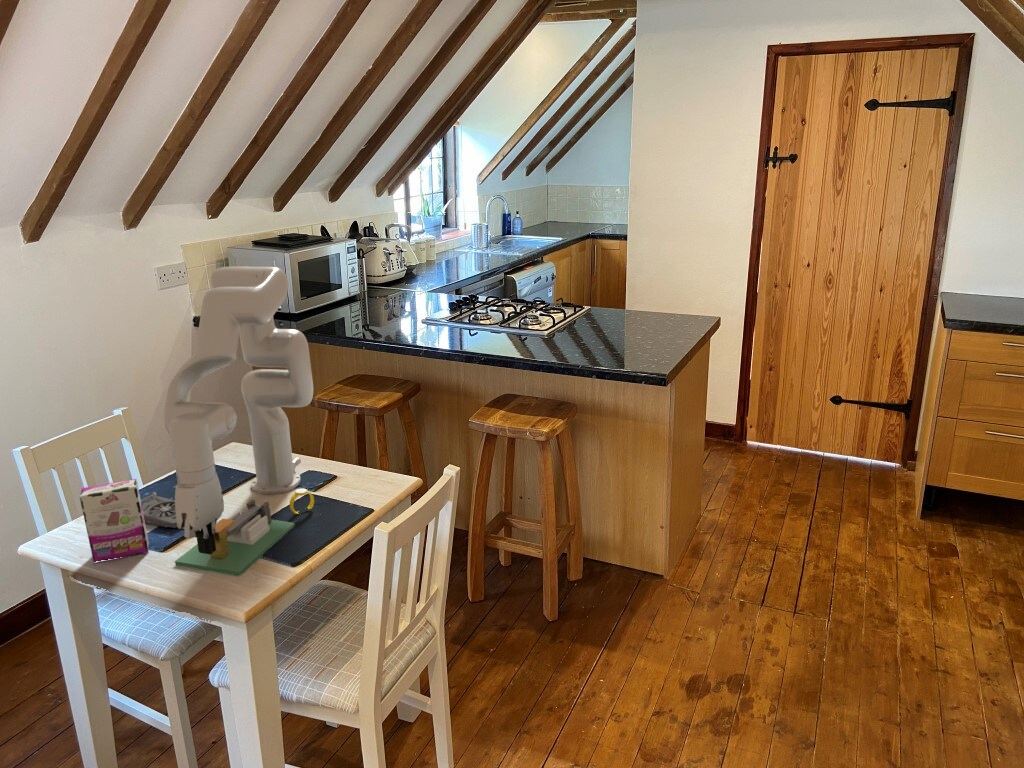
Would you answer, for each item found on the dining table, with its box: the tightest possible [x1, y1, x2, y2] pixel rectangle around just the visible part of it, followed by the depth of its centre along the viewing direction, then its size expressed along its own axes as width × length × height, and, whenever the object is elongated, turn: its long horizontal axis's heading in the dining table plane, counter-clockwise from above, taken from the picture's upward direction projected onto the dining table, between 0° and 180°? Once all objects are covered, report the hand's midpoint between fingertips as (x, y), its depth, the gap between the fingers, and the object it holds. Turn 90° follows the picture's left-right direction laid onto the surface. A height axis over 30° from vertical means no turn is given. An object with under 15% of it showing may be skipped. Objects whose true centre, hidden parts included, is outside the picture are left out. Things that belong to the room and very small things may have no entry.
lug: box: [210, 518, 235, 559], centre depth 170 cm, size 6×3×6 cm, turn 164°
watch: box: [289, 488, 315, 515], centre depth 190 cm, size 6×3×6 cm, turn 133°
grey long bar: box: [226, 503, 262, 537], centre depth 176 cm, size 14×2×1 cm, turn 164°
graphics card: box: [141, 492, 178, 529], centre depth 188 cm, size 17×4×12 cm
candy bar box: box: [79, 478, 150, 563], centre depth 170 cm, size 11×5×16 cm, turn 114°
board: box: [174, 499, 296, 577], centre depth 175 cm, size 22×16×6 cm
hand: (207, 551), depth 166 cm, fingers closed
